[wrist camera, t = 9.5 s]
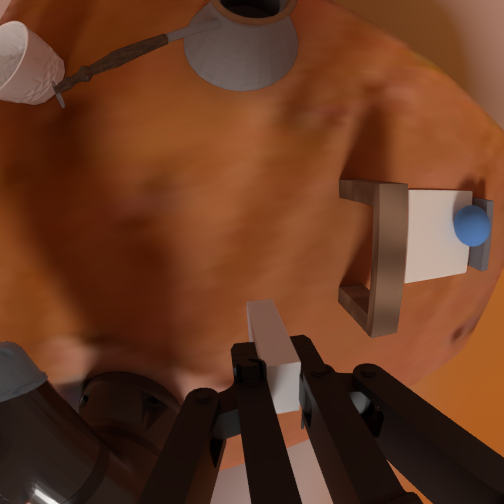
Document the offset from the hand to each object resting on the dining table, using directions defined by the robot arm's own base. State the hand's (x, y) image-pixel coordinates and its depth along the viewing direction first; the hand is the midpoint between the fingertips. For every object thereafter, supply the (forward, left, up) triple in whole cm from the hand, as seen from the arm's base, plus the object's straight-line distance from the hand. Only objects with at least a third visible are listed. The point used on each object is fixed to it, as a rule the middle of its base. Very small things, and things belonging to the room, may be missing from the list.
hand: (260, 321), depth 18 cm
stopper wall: (0, -34, -16) cm, 38 cm away
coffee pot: (+20, +3, -17) cm, 26 cm away
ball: (+2, -31, -14) cm, 34 cm away
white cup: (+23, +22, -17) cm, 36 cm away
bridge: (0, -13, -16) cm, 21 cm away
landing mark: (0, -27, -16) cm, 32 cm away
